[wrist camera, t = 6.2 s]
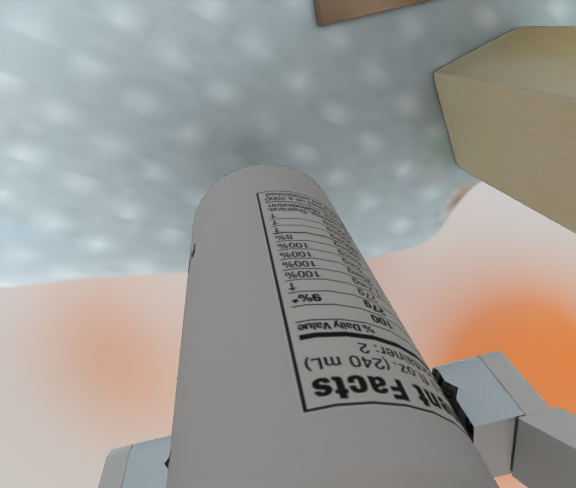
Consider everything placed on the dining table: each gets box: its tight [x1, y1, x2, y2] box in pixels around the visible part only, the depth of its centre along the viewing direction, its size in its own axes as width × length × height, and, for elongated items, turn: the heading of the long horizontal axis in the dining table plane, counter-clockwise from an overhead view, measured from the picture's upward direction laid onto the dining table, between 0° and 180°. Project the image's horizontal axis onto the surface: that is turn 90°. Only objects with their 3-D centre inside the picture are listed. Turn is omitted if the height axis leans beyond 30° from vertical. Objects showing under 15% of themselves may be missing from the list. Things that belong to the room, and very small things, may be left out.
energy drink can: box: [166, 164, 499, 488], centre depth 12 cm, size 6×6×15 cm
